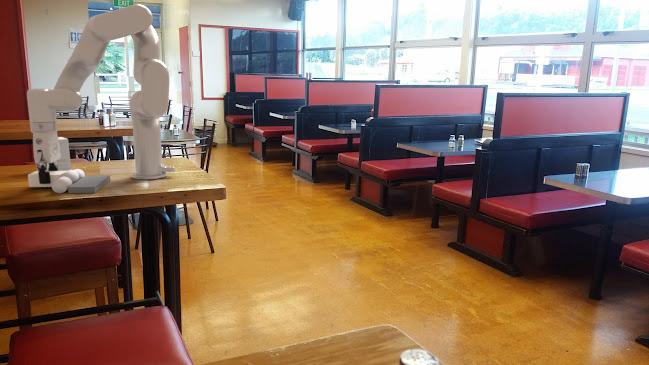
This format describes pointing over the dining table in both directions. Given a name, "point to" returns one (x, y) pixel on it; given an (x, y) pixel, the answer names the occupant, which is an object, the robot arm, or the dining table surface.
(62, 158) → the supplement box
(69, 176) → the cream hinge flap
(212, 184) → the dining table surface
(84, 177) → the fixed leaf
